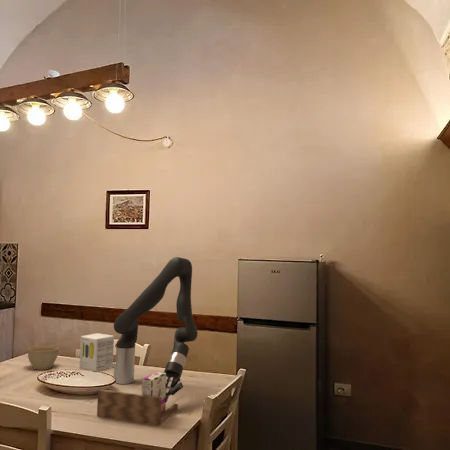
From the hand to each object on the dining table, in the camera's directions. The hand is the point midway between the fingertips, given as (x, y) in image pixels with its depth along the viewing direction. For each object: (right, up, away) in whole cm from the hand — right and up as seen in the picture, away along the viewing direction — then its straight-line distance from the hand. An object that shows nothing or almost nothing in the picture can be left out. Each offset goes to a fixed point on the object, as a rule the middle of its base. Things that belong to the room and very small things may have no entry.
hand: (162, 402), depth 191 cm
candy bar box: (-3, -4, -6) cm, 7 cm away
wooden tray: (-10, -3, -2) cm, 10 cm away
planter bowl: (-74, -5, +64) cm, 98 cm away
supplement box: (-46, -6, +67) cm, 82 cm away
